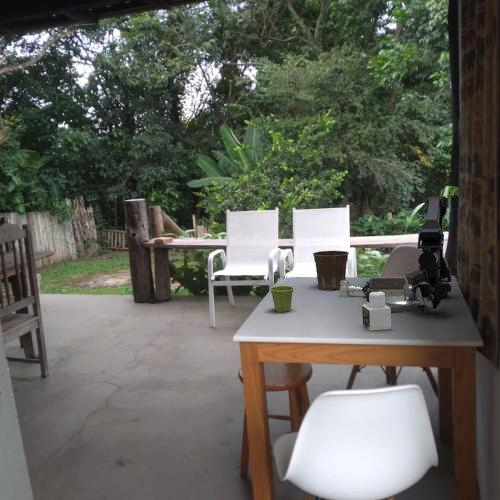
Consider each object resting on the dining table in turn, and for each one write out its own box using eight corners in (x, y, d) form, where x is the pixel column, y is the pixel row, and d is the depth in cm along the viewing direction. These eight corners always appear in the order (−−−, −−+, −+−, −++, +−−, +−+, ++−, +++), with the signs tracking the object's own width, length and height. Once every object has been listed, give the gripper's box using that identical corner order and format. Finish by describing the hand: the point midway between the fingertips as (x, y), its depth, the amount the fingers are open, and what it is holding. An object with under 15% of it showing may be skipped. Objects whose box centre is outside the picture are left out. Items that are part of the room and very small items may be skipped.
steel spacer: (434, 308, 175) (434, 295, 175) (441, 312, 171) (441, 298, 170) (421, 310, 175) (421, 296, 174) (427, 313, 170) (427, 299, 169)
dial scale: (411, 300, 189) (411, 294, 189) (429, 309, 175) (429, 302, 175) (369, 304, 187) (369, 298, 187) (383, 313, 173) (383, 306, 173)
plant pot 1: (297, 307, 189) (296, 285, 188) (291, 313, 181) (290, 291, 180) (274, 307, 193) (273, 285, 191) (267, 313, 184) (266, 290, 183)
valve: (338, 298, 202) (367, 299, 197) (337, 282, 201) (367, 283, 196) (342, 294, 208) (370, 295, 203) (341, 279, 207) (370, 280, 202)
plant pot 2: (355, 285, 225) (354, 250, 223) (342, 292, 211) (340, 255, 209) (322, 283, 233) (321, 250, 231) (308, 290, 220) (306, 255, 218)
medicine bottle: (362, 325, 161) (361, 289, 159) (383, 323, 162) (382, 288, 160) (369, 331, 154) (368, 294, 152) (391, 329, 154) (390, 292, 153)
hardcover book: (405, 282, 226) (405, 277, 225) (407, 293, 204) (406, 288, 203) (369, 282, 230) (369, 278, 230) (367, 293, 208) (367, 288, 208)
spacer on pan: (414, 297, 184) (414, 284, 184) (420, 299, 179) (420, 286, 179) (401, 298, 184) (401, 285, 183) (407, 301, 179) (407, 287, 178)
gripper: (397, 259, 179) (397, 300, 182) (421, 270, 161) (420, 315, 163) (426, 257, 180) (425, 298, 183) (453, 267, 162) (452, 312, 164)
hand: (430, 305), depth 173 cm, fingers open, 6 cm apart
